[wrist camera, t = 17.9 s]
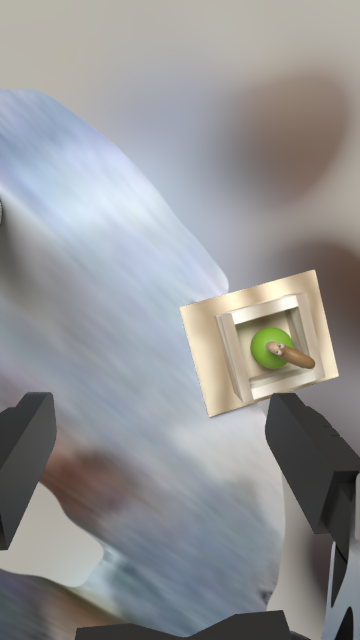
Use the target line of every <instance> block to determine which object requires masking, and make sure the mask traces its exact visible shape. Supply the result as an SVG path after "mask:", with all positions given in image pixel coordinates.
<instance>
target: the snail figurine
mask: <svg viewBox="0 0 360 640" xmlns="http://www.w3.org/2000/svg"><path fill="white" fill-rule="evenodd" d="M250 351H251V354H252V357H253V358H254V360H255V361H256V362H257V363H258V364H259V365H261V366H263V367H265V368H270V369H276V368H280V367H282V366H284V365H286V364H287V363H291V364H293V365H295V366H298V367H301V368H306V369H313V368H314V367H315V361H314V359H312V358H311V357H309V356H307V355H305V354H303V353H301V352H299V351H297V350H295V349H294V346H293V342H292V339H291V338H290V336H289V335H288V334H287V333H286V332H285V331H283V330H281V329H279V328H275V327H267V328H264V329H261V330H260V331H258V332H257V333H256V334H255V335H254V336H253V338H252V340H251V344H250Z"/></svg>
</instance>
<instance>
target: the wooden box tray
mask: <svg viewBox="0 0 360 640" xmlns="http://www.w3.org/2000/svg"><path fill="white" fill-rule="evenodd" d="M179 311H180V314H181V318H182V321H183V325H184V329H185V332H186V336H187V340H188V343H189V347H190V351H191V354H192V358H193V362H194V365H195V369H196V373H197V376H198V380H199V384H200V387H201V391H202V394H203V398H204V402H205V405H206V409H207V413H208V415H209V417H211V416H215V415H218V414H221V413H224V412H227V411H230V410H234V409H237V408H240V407H243V406H246V405H249V404H253V403H256V402H259V401H262V400H265V399H268V398H271V396H272V394H273V393H287V392H290V391H294V390H297V389H300V388H303V387H306V386H310V385H313V384H316V383H319V382H322V381H325V380H328V379H331V378H335V377H338V376H339V375H338V370H337V366H336V362H335V357H334V353H333V349H332V344H331V340H330V335H329V331H328V326H327V322H326V317H325V313H324V309H323V304H322V300H321V295H320V292H319V287H318V282H317V278H316V274H315V270H311V271H308V272H304V273H300V274H297V275H293V276H290V277H287V278H282V279H279V280H275V281H272V282H268V283H265V284H261V285H257V286H254V287H250V288H247V289H243V290H239V291H236V292H233V293H229V294H225V295H221V296H218V297H214V298H211V299H207V300H204V301H200V302H196V303H193V304H189V305H186V306H182V307H179ZM267 327H275V328H279V329H281V330H283V331H285V332H286V333H287V334H288V335H289V336H290V338H291V339H292V342H293V346H294V349H295V350H297V351H299V352H301V353H303V354H305V355H307V356H309V357H311V358H312V359H314V361H315V367H314V368H313V369H306V368H301V367H298V366H295V365H293V364H291V363H287V364H286V365H284V366H282V367H280V368H276V369H270V368H265V367H263V366H261V365H259V364H258V363H257V362H256V361H255V360H254V358H253V357H252V354H251V351H250V344H251V340H252V338H253V336H254V335H255V334H256V333H257V332H258V331H260V330H261V329H264V328H267Z"/></svg>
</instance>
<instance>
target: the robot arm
mask: <svg viewBox="0 0 360 640" xmlns="http://www.w3.org/2000/svg"><path fill="white" fill-rule="evenodd" d="M1 219H2V207H1V203H0V223H1ZM265 435H266V440H267V443H268V445H269V447H270V449H271V451H272V453H273V455H274V457H275V459H276V461H277V463H278V464H279V466H280V468H281V470H282V472H283V474H284V476H285V478H286V480H287V482H288V484H289V486H290V488H291V489H292V491H293V493H294V495H295V497H296V499H297V501H298V503H299V505H300V507H301V509H302V511H303V512H304V514H305V516H306V518H307V520H308V522H309V524H310V526H311V528H312V530H313V532H314V534H322V533H330V534H331V536H332V537H333V539H334V543H333V546H332V553H331V564H330V575H329V586H328V597H327V608H326V617H325V624H324V629H323V633H322V637H321V640H360V457H359V456H358V455H357V454H356V453H355V452H354V451H353V450H352V449H351V447H350V446H349V445H348V444H347V443H346V442H345V440H344V439H343V438H342V437H340V435H339V434H338V433H337V431H336V430H335V429H334V428H332V426H331V425H330V423H329V422H328V421H327V420H326V419H325V418H324V417H323V416H322V415H321V414H320V413H318V412H317V411H315V410H314V409H312V408H311V407H309V406H305V405H304V403H303V402H302V401H301V400H300V399H299V397H298V396H297V395H296V394H295V393H273V394H272V396H271V399H270V405H269V410H268V415H267V420H266V425H265ZM55 440H56V419H55V409H54V400H53V395H52V393H51V392H28V393H26V394H25V395H24V397H23V398H22V399H21V401H20V402H19V403H18V405H17V406H16V407H11V408H7V409H6V410H4V411H3V412H1V413H0V550H8V548H9V546H10V543H11V542H12V539H13V537H14V535H15V533H16V530H17V528H18V526H19V524H20V521H21V519H22V517H23V515H24V512H25V510H26V508H27V506H28V503H29V501H30V499H31V497H32V494H33V492H34V490H35V488H36V485H37V483H38V481H39V479H40V476H41V474H42V472H43V470H44V468H45V465H46V463H47V461H48V459H49V456H50V454H51V452H52V450H53V447H54V444H55ZM75 640H311V639H309V638H307V637H305V636H303V635H300V634H298V633H296V632H293V631H290V630H289V627H288V624H287V621H286V618H285V615H284V612H283V610H278V611H267V612H256V613H244V614H235V615H233V616H231V617H229V618H227V619H225V620H223V621H220V622H218V623H216V624H214V625H212V626H210V627H208V628H206V629H204V630H202V631H200V632H198V633H196V634H194V635H192V636H189V637H184V638H183V637H178V636H174V635H171V634H167V633H164V632H160V631H156V630H153V629H149V628H146V627H142V626H138V625H135V624H131V623H129V624H118V625H106V626H95V627H83V628H77V631H76V636H75Z"/></svg>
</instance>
